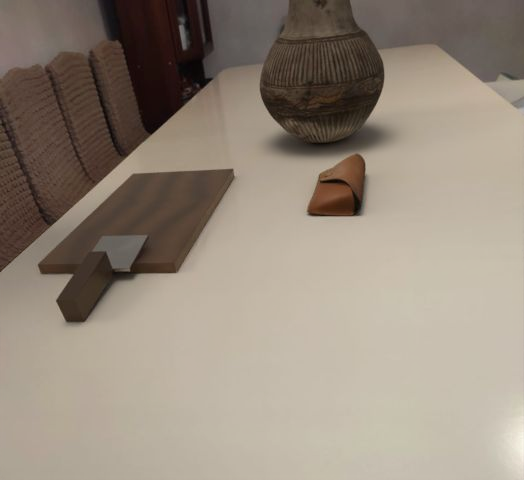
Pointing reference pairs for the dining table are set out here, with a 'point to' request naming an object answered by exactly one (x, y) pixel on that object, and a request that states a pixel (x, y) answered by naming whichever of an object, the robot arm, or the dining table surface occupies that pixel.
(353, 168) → the sunglasses case
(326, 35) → the vase
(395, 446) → the dining table surface
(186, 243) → the board
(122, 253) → the spatula
